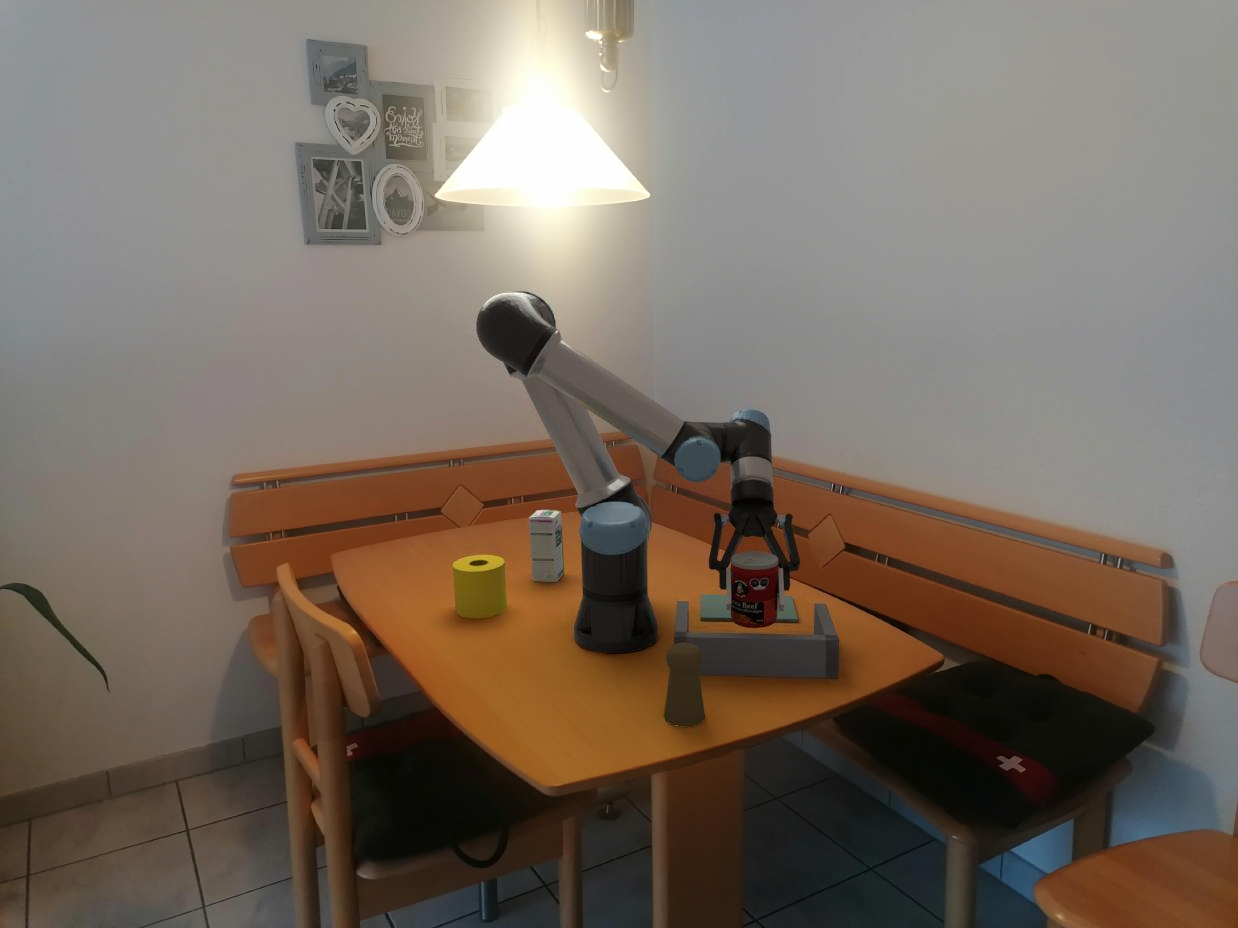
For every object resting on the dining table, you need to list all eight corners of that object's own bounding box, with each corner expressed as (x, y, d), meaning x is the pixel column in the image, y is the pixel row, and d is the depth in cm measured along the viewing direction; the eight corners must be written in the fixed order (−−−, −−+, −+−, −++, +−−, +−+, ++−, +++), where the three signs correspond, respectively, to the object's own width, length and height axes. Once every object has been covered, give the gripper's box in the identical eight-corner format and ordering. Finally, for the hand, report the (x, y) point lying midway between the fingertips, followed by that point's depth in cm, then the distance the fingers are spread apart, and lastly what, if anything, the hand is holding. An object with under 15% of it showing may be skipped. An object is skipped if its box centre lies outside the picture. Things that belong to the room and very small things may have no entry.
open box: (674, 674, 138) (674, 636, 137) (677, 635, 153) (677, 601, 152) (838, 678, 135) (839, 640, 134) (825, 638, 150) (826, 603, 149)
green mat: (700, 620, 159) (700, 617, 159) (700, 596, 171) (700, 594, 171) (797, 622, 158) (797, 619, 157) (791, 598, 169) (791, 595, 169)
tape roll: (498, 595, 174) (496, 551, 172) (513, 612, 165) (510, 566, 163) (450, 604, 170) (447, 559, 168) (462, 621, 161) (459, 574, 159)
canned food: (721, 620, 144) (721, 558, 142) (750, 607, 150) (750, 547, 147) (758, 633, 139) (758, 569, 136) (786, 618, 144) (787, 557, 142)
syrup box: (557, 582, 181) (555, 517, 178) (531, 581, 182) (528, 516, 179) (564, 573, 186) (562, 509, 183) (538, 572, 188) (536, 509, 184)
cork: (681, 731, 120) (681, 659, 118) (655, 714, 125) (654, 645, 123) (713, 718, 124) (713, 647, 122) (686, 702, 129) (686, 634, 126)
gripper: (808, 499, 154) (816, 617, 142) (694, 498, 157) (692, 614, 144) (812, 477, 148) (821, 599, 136) (693, 477, 150) (691, 596, 138)
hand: (755, 607), depth 140 cm, fingers closed on canned food, 8 cm apart
